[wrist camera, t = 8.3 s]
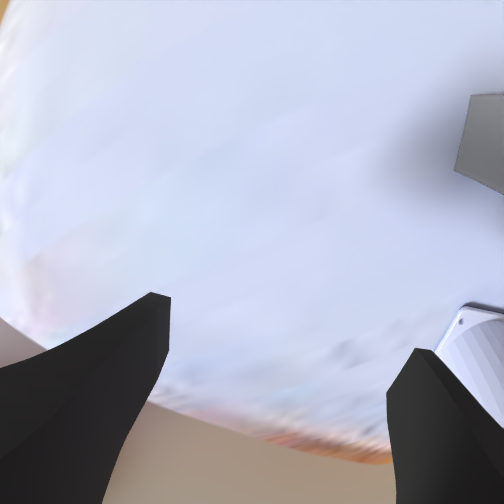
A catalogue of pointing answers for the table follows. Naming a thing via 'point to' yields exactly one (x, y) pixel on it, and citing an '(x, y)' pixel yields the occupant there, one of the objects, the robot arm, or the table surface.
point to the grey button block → (483, 142)
